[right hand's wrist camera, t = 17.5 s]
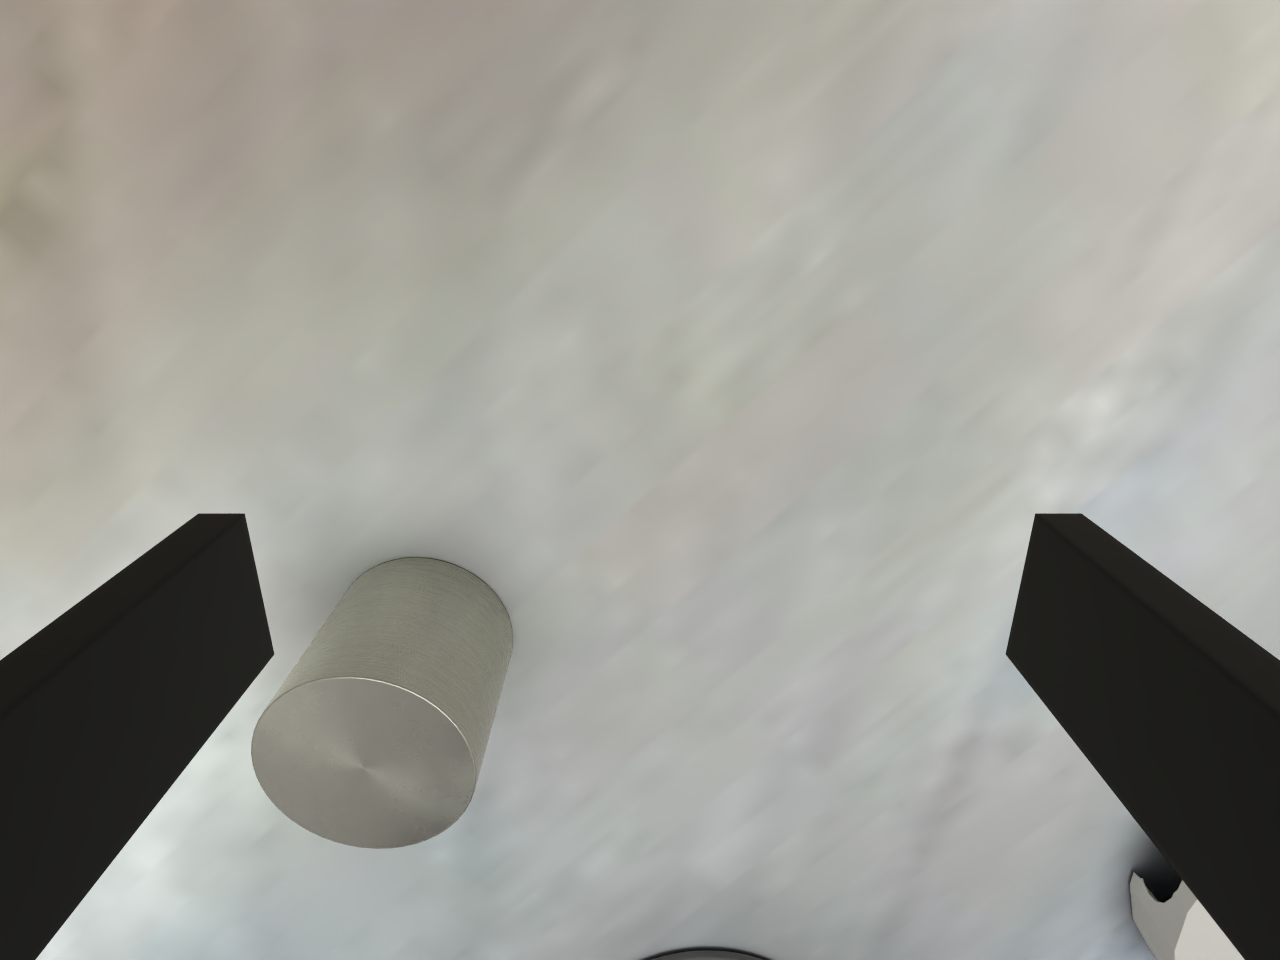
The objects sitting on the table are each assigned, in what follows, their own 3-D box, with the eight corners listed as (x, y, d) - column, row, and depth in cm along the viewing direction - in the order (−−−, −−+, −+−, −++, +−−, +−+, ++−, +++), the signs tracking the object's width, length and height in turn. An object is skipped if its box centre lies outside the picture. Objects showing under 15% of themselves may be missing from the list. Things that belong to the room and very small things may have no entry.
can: (301, 616, 37) (202, 747, 29) (432, 524, 35) (367, 637, 27) (420, 729, 40) (361, 879, 31) (548, 650, 38) (521, 787, 29)
